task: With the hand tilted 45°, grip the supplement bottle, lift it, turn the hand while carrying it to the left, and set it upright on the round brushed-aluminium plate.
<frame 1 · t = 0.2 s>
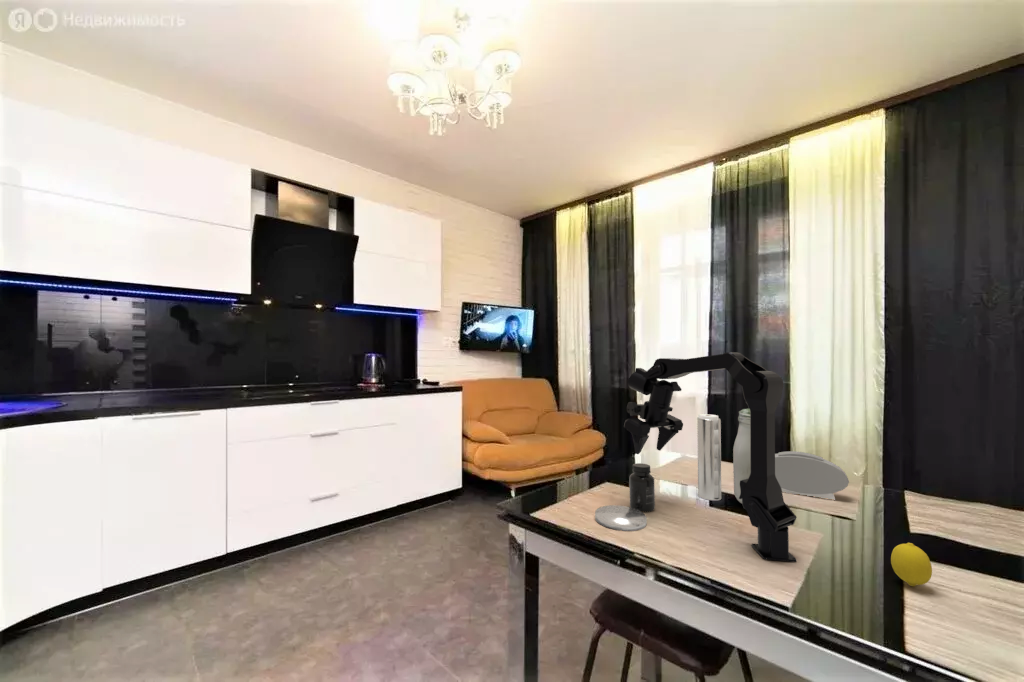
hand: (647, 451, 118), 15 cm above the table, tool tilted 15°, fingers open, 9 cm apart
metal plate: (620, 520, 106), on the table
supplement bottle: (642, 508, 115), on the table
lemon: (911, 587, 76), on the table
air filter: (709, 497, 124), on the table
glass bottle: (753, 506, 117), on the table
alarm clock: (800, 493, 128), on the table
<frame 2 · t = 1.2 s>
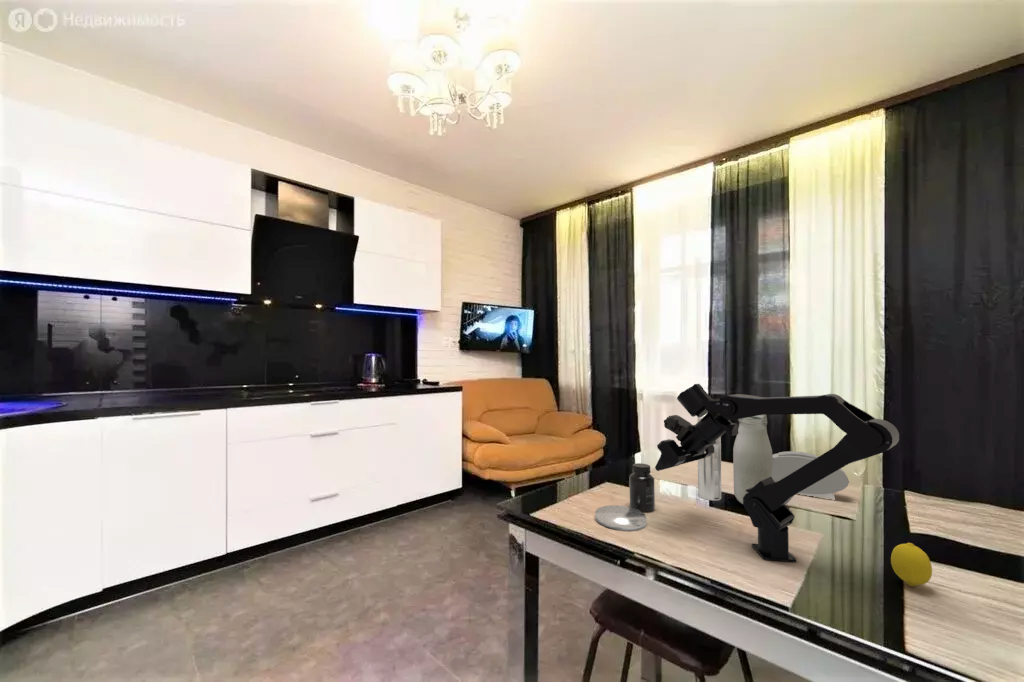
hand: (666, 466, 109), 13 cm above the table, tool tilted 45°, fingers open, 9 cm apart
nothing on the table moved.
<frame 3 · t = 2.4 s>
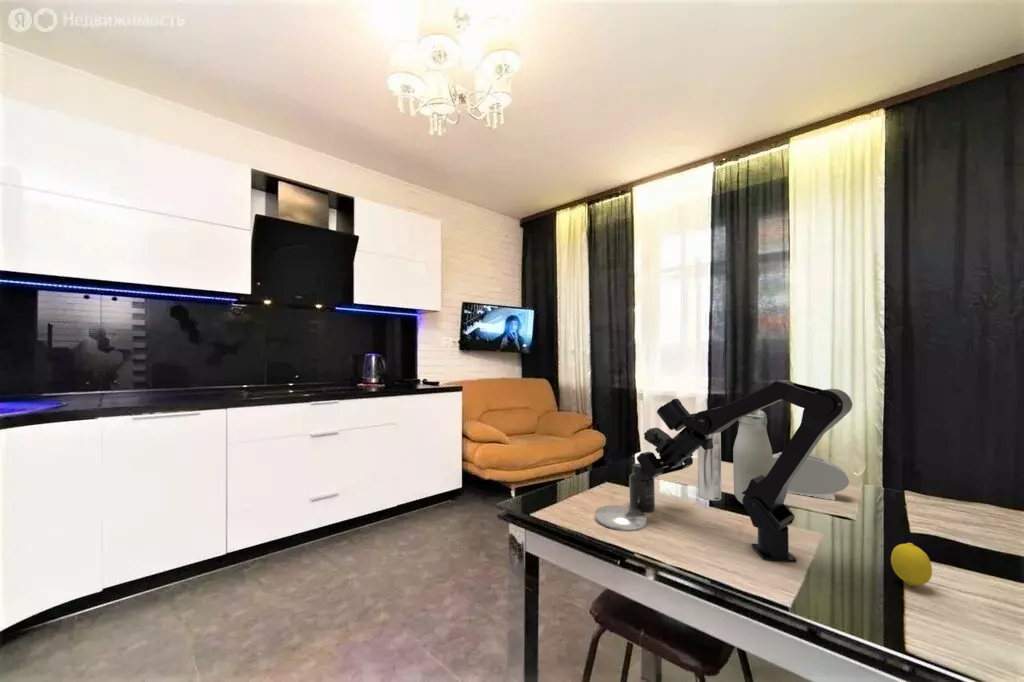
hand: (646, 476, 114), 9 cm above the table, tool tilted 45°, fingers open, 9 cm apart
nothing on the table moved.
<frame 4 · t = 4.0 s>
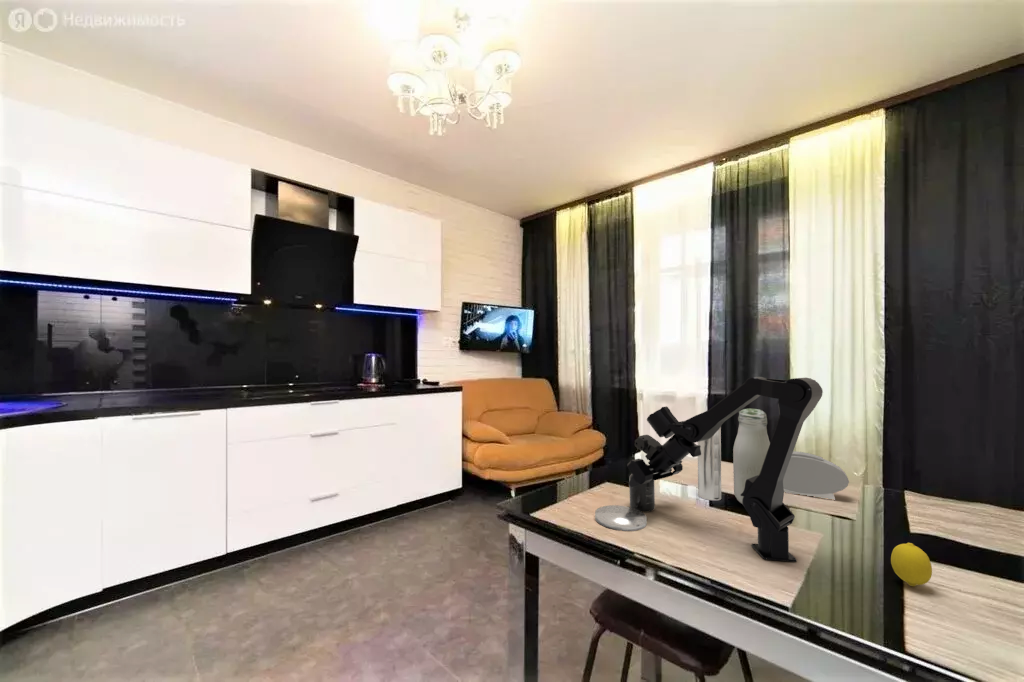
hand: (637, 483, 116), 7 cm above the table, tool tilted 45°, fingers closed on supplement bottle, 7 cm apart
supplement bottle: (641, 508, 115), on the table, touching gripper
everything else where it was.
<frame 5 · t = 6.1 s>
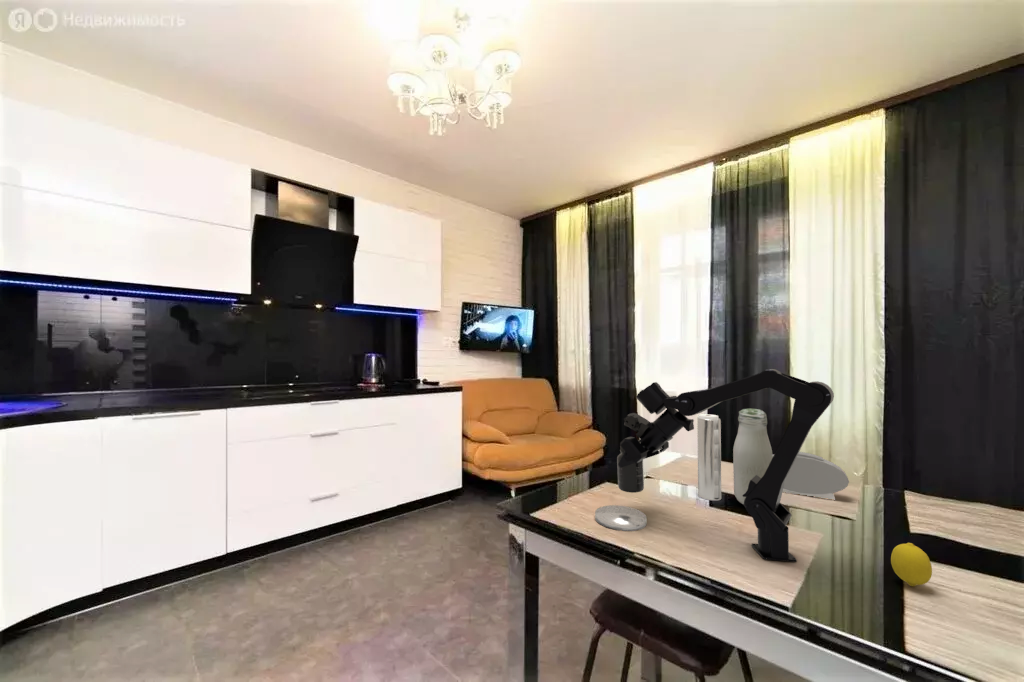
hand: (625, 463, 112), 13 cm above the table, tool tilted 45°, fingers closed on supplement bottle, 7 cm apart
supplement bottle: (630, 489, 111), point 6 cm above the table, touching gripper
everything else where it was.
when the fingers open (9 cm above the table, at t = 8.4 s): supplement bottle drops 1 cm, resting on metal plate.
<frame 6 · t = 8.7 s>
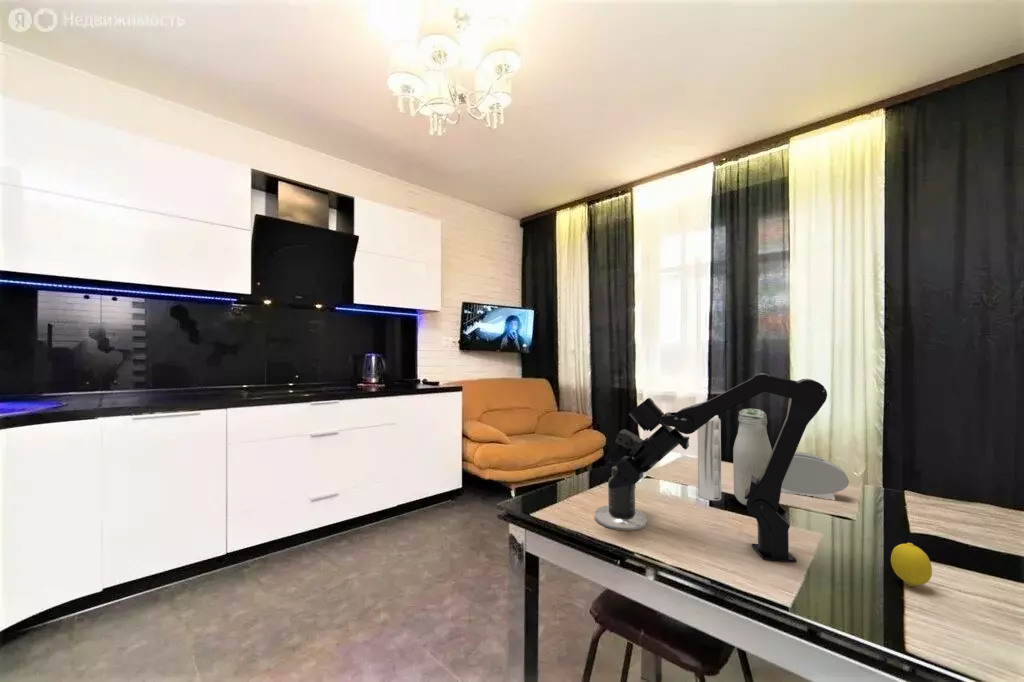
hand: (615, 482, 107), 10 cm above the table, tool tilted 45°, fingers open, 9 cm apart
supplement bottle: (621, 514, 106), point 1 cm above the table, touching metal plate
everything else where it was.
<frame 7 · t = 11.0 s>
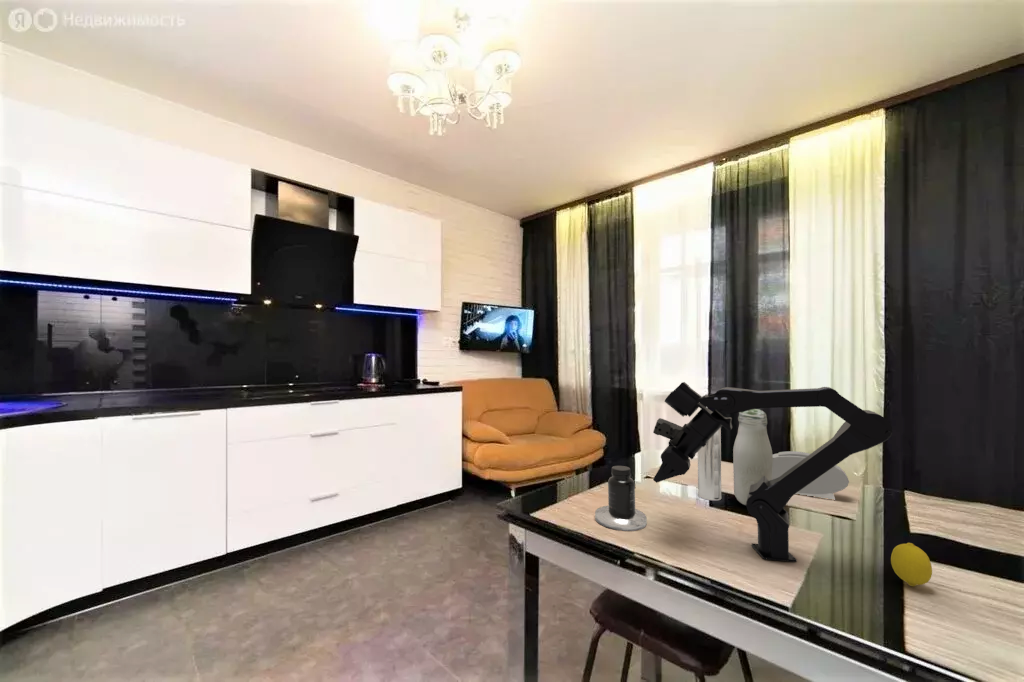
hand: (657, 475, 102), 13 cm above the table, tool tilted 40°, fingers open, 9 cm apart
nothing on the table moved.
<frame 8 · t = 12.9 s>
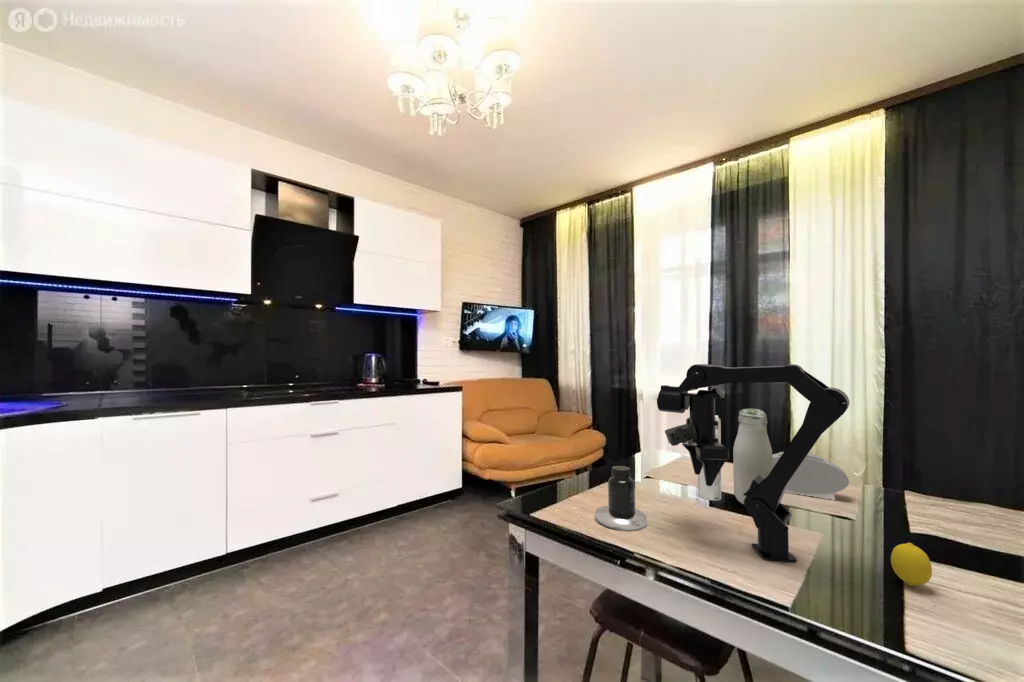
hand: (702, 479, 99), 13 cm above the table, tool pointing down, fingers open, 9 cm apart
nothing on the table moved.
at the end: supplement bottle 0.4 cm off-centre on the metal plate, point 1.3 cm above the metal plate's base; supplement bottle tilted 0°; the gripper is holding nothing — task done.
